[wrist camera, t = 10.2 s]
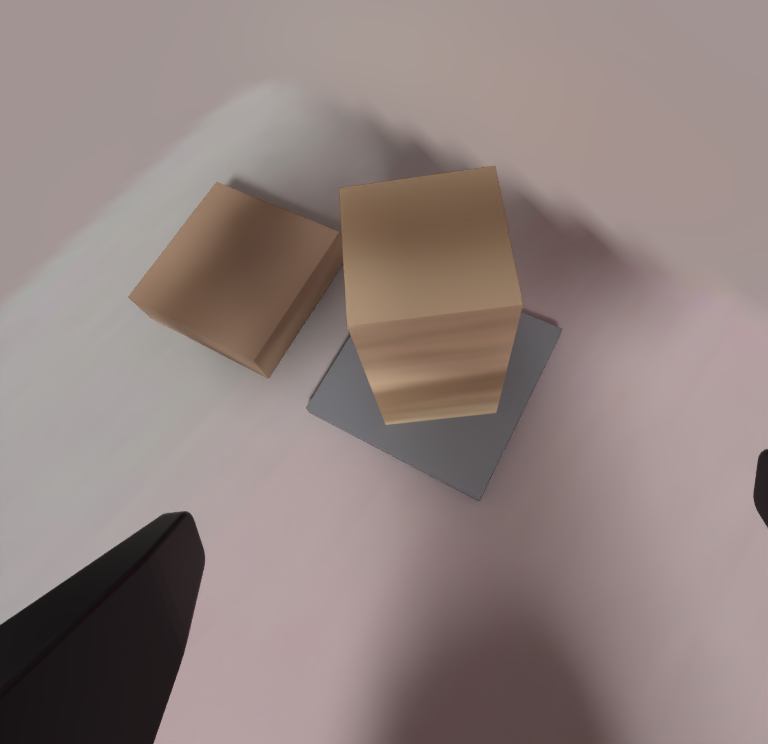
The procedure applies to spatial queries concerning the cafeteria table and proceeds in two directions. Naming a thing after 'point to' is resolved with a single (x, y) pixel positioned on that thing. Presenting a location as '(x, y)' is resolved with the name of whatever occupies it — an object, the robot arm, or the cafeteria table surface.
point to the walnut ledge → (241, 277)
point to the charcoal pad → (441, 436)
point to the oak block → (431, 292)
